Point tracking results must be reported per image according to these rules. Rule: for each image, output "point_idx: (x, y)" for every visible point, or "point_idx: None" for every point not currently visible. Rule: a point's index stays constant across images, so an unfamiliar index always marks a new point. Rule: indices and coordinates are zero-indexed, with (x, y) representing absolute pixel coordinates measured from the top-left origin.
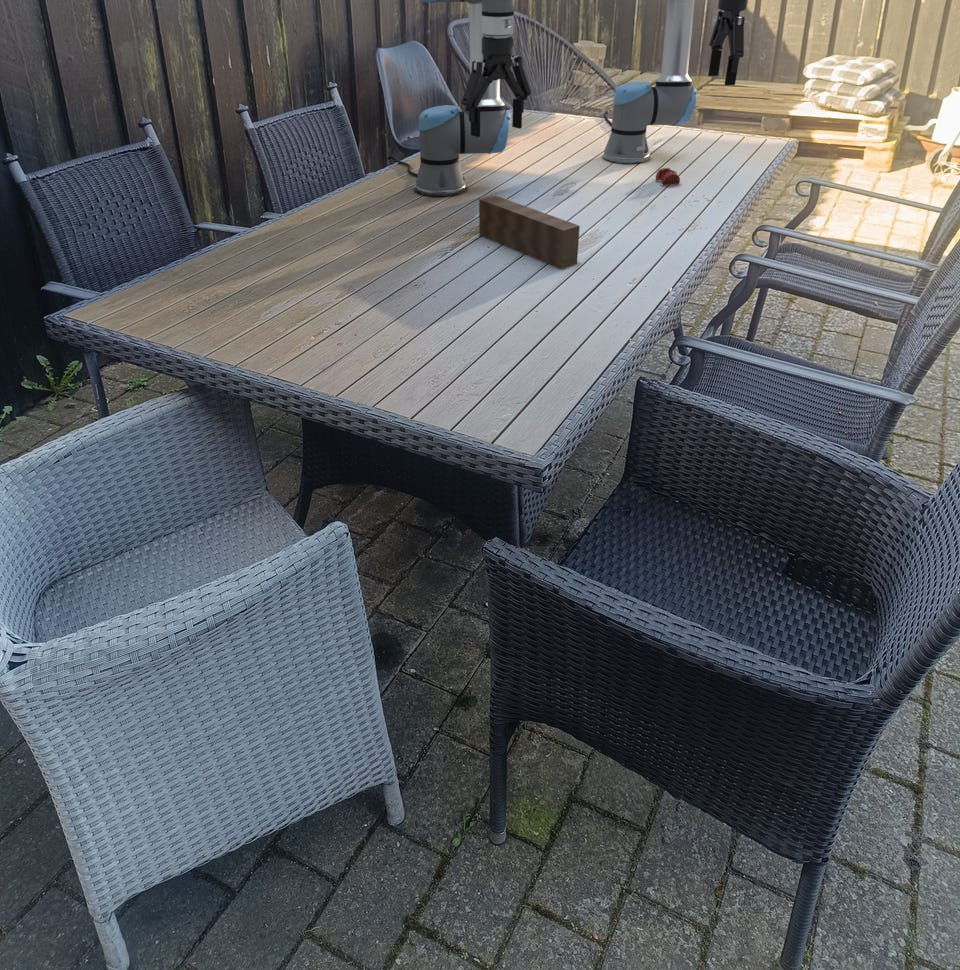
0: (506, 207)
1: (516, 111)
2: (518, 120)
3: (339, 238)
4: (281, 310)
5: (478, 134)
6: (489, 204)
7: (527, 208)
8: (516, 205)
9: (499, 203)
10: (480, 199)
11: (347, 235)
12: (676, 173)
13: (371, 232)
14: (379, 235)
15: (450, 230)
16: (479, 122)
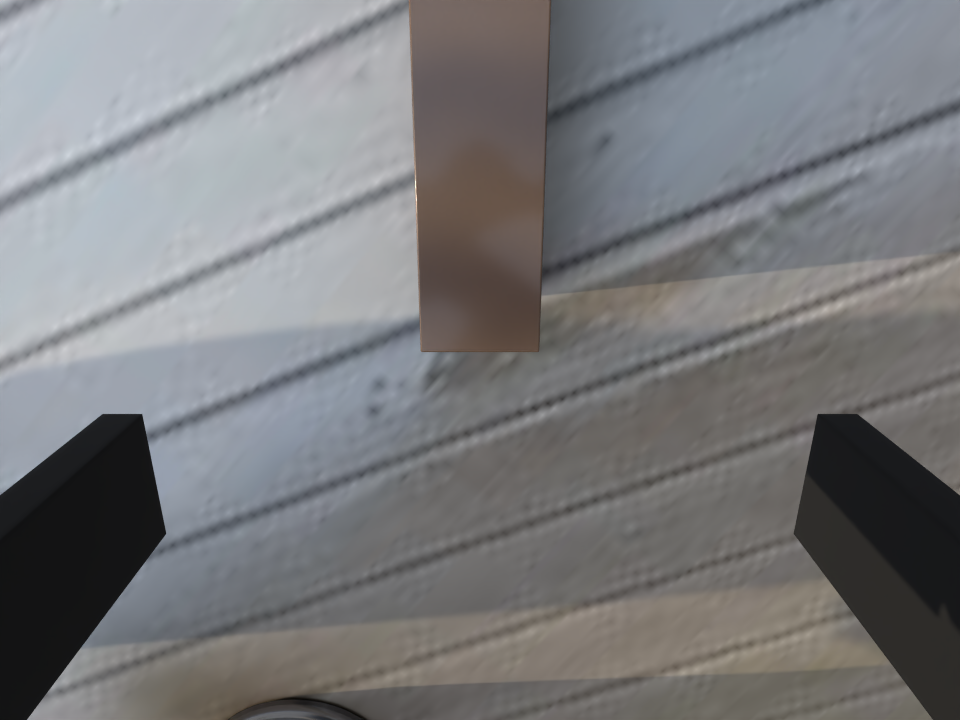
0: (522, 127)
1: (28, 609)
2: (91, 486)
3: None
4: None
5: (862, 428)
6: (541, 260)
7: (433, 15)
8: (448, 116)
9: (502, 218)
10: (536, 344)
11: None
12: None
13: (816, 575)
14: None
15: (579, 416)
16: (942, 513)
